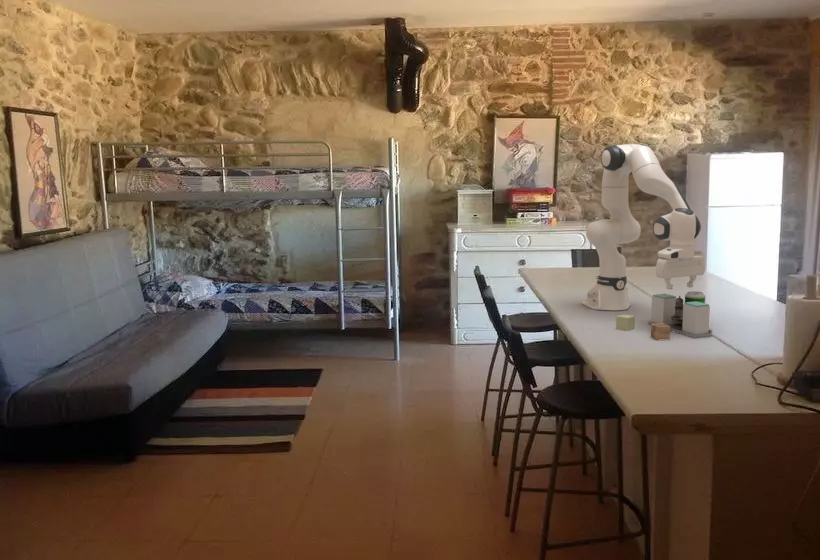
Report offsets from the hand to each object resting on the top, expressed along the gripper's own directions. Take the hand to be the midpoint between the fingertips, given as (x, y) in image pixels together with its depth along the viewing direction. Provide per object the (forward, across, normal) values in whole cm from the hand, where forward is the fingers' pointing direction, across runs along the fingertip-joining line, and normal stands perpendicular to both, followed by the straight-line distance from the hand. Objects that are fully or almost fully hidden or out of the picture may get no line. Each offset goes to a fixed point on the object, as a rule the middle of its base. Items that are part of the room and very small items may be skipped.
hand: (679, 288), depth 286 cm
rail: (+16, 0, +1) cm, 16 cm away
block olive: (+16, +17, -9) cm, 25 cm away
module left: (+15, 0, -8) cm, 17 cm away
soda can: (+16, -14, -7) cm, 23 cm away
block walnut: (+16, +15, +9) cm, 24 cm away
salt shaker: (+15, 0, +1) cm, 15 cm away
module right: (+15, 0, +10) cm, 18 cm away
